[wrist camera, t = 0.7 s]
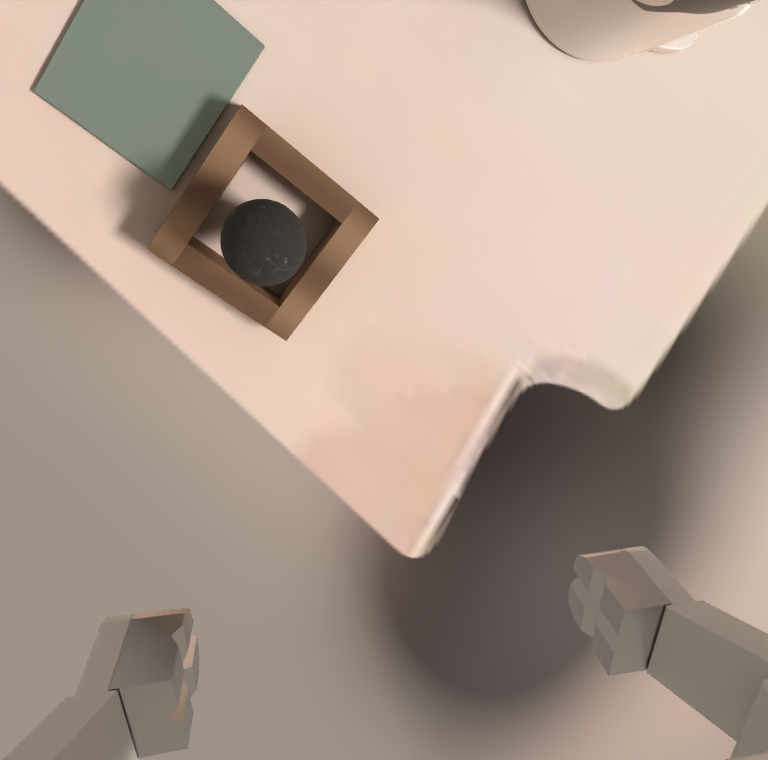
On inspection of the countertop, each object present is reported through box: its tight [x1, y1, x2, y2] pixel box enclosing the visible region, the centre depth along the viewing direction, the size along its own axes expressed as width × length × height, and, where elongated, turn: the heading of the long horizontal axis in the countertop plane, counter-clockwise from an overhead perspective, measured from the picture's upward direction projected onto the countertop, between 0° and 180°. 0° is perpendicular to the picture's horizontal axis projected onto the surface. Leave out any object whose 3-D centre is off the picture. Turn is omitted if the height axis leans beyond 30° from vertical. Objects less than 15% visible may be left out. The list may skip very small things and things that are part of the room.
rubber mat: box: [34, 0, 265, 190], centre depth 36 cm, size 12×10×1 cm
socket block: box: [147, 105, 379, 341], centre depth 41 cm, size 12×12×3 cm
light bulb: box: [221, 199, 307, 286], centre depth 38 cm, size 6×6×10 cm
